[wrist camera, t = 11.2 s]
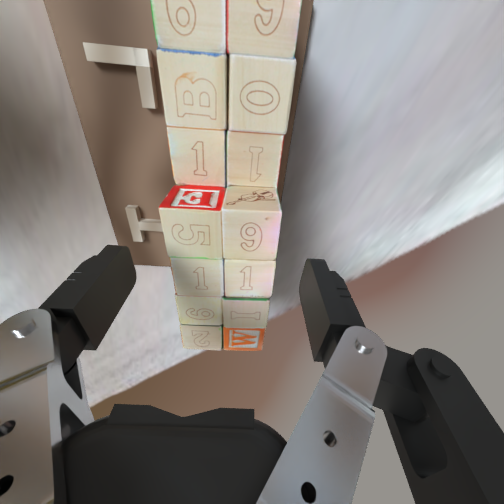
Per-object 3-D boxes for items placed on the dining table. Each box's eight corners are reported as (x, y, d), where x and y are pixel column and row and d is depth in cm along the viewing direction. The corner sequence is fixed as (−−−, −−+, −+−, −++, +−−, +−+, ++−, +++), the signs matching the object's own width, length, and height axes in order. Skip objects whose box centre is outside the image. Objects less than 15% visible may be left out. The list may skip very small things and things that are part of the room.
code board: (311, 2, 16) (316, -4, 15) (269, 269, 30) (269, 276, 29) (40, -30, 15) (23, -40, 14) (126, 261, 29) (121, 268, 28)
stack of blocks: (192, 4, 16) (90, -145, 6) (284, 13, 16) (344, -111, 6) (206, 257, 28) (182, 352, 18) (257, 260, 28) (262, 355, 18)
